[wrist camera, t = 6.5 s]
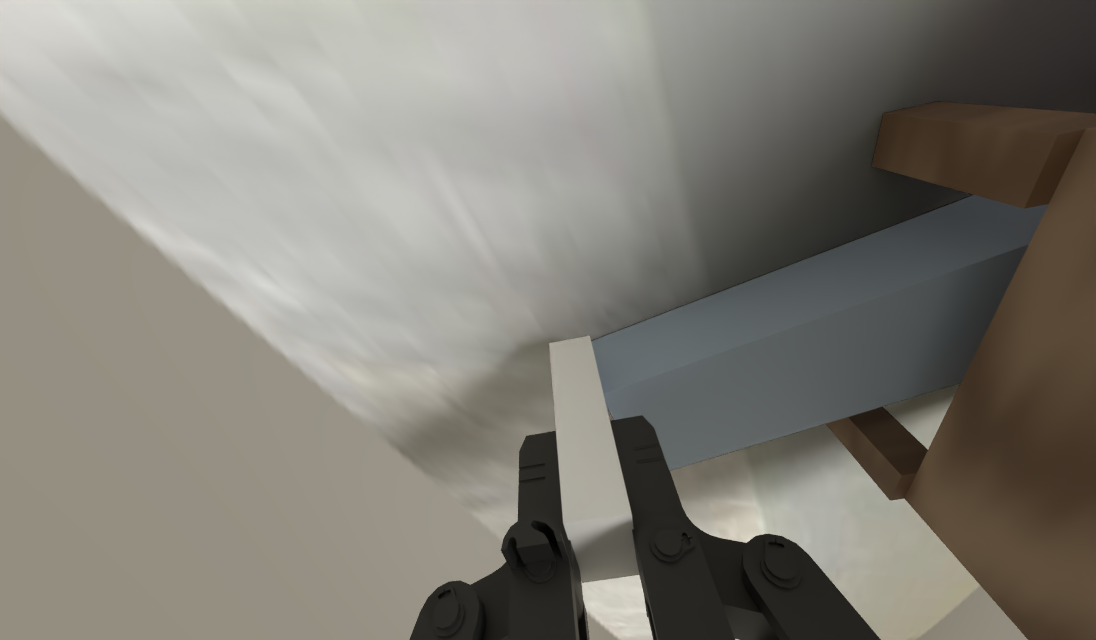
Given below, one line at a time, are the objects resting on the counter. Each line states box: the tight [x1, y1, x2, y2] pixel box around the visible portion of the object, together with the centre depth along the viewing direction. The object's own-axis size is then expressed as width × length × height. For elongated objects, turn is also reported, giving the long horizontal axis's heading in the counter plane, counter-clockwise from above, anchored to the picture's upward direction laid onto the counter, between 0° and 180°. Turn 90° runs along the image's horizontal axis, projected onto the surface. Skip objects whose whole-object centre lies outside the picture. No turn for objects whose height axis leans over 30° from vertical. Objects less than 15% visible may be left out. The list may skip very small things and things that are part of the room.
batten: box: [591, 195, 1048, 471], centre depth 14 cm, size 5×15×3 cm, turn 114°
